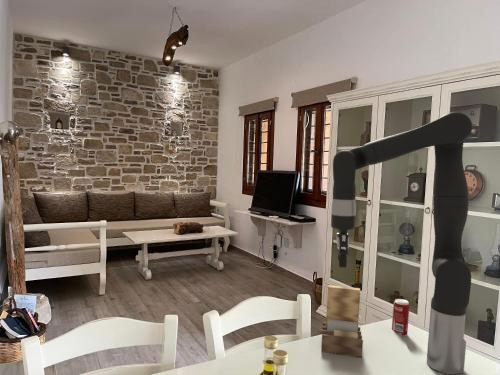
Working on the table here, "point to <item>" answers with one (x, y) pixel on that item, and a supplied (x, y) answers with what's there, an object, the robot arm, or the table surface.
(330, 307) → the tall sheet
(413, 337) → the table surface
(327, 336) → the rack
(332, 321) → the offcut grey
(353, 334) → the offcut pine
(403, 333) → the soda can
